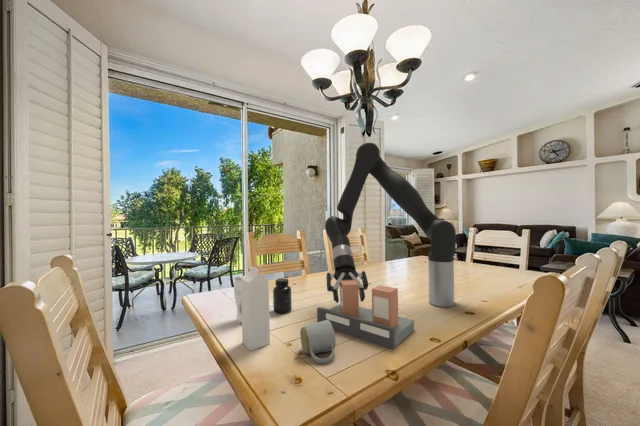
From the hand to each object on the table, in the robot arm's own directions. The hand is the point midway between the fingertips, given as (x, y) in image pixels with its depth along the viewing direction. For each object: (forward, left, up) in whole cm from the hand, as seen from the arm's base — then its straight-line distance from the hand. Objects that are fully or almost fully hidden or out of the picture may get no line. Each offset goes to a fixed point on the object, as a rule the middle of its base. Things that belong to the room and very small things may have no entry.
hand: (350, 301), depth 89 cm
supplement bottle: (+5, -28, -8) cm, 30 cm away
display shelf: (-2, +4, -8) cm, 9 cm away
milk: (+27, -15, -8) cm, 32 cm away
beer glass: (+19, -32, -8) cm, 38 cm away
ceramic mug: (+19, +3, -8) cm, 21 cm away
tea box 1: (-1, -1, -5) cm, 5 cm away
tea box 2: (-1, +12, -5) cm, 13 cm away
